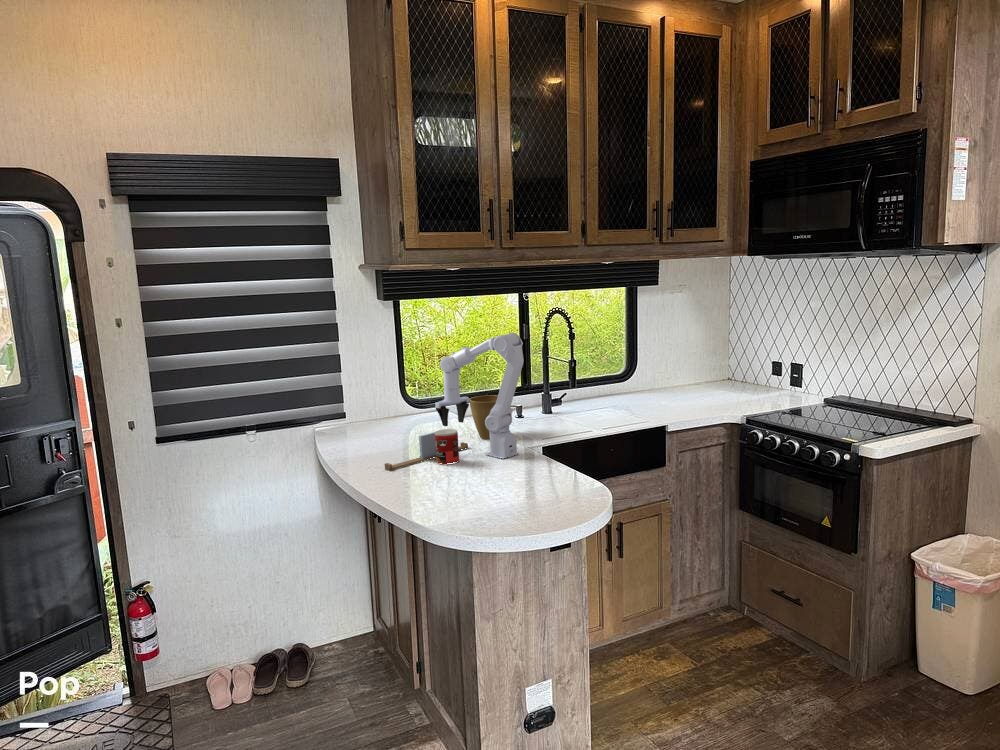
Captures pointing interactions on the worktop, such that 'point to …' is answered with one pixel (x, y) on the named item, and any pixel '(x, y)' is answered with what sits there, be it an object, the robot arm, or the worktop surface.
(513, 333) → the robot arm
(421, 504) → the worktop surface
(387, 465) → the rail
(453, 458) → the canned food
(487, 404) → the plant pot
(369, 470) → the worktop surface
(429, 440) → the screen panel
